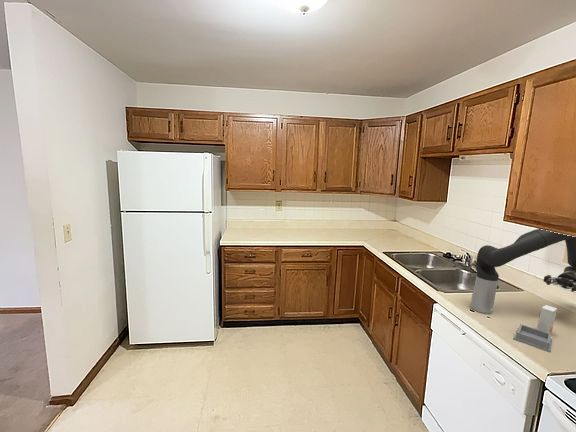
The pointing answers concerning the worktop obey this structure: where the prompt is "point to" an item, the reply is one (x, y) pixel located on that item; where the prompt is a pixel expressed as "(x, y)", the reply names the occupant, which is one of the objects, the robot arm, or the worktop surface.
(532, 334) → the square gray tray
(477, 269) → the robot arm
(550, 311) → the skincare box
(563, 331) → the worktop surface
